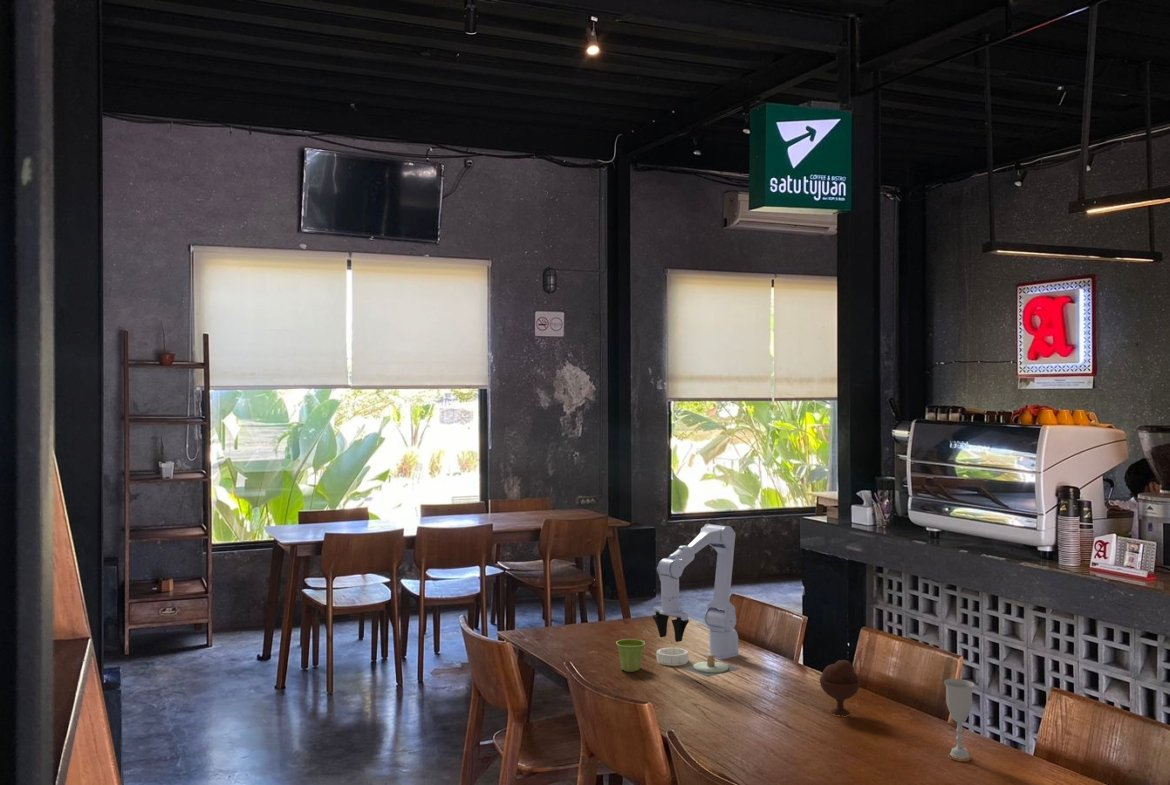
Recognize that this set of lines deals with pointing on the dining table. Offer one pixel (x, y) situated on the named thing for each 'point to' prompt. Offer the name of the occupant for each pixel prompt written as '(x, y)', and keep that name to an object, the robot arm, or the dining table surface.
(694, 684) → the dining table surface
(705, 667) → the lid
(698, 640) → the dining table surface
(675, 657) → the bowl
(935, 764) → the dining table surface
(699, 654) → the dining table surface
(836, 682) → the ice cream bowl
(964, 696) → the chalice
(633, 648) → the plant pot
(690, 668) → the mat
